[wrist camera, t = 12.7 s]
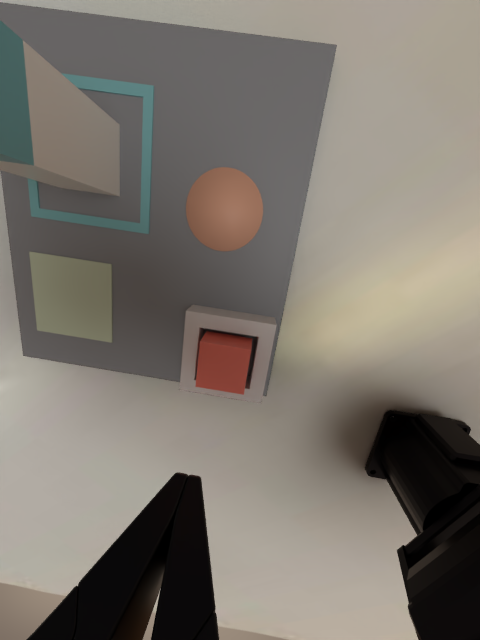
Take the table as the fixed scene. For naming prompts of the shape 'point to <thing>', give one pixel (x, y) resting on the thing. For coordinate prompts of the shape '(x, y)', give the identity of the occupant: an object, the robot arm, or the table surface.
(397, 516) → the table surface
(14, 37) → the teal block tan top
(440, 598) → the robot arm
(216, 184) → the picture board
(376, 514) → the table surface
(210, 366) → the button
